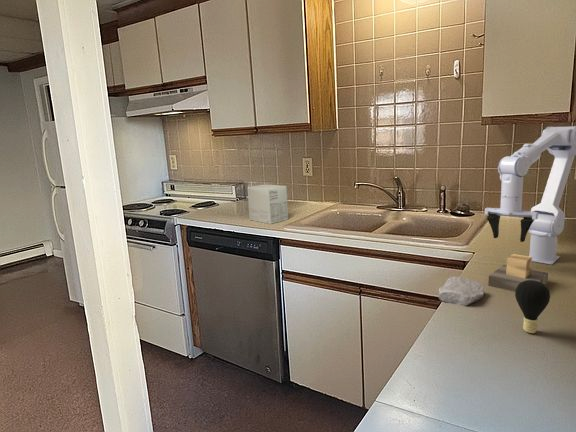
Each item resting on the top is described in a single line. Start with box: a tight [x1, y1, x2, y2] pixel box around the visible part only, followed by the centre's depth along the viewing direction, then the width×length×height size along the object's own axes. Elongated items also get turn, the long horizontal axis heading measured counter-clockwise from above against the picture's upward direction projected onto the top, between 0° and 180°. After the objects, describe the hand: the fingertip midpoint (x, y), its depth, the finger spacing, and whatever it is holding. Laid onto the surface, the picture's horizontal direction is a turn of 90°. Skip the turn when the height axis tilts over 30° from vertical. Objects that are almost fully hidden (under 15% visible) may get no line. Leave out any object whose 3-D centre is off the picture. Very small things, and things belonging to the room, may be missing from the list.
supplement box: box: [247, 183, 289, 225], centre depth 220 cm, size 17×13×18 cm
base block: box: [487, 264, 549, 292], centre depth 120 cm, size 12×12×3 cm
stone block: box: [438, 276, 485, 307], centre depth 114 cm, size 12×5×10 cm
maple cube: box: [506, 253, 533, 278], centre depth 120 cm, size 5×5×5 cm
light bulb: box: [514, 280, 551, 334], centre depth 93 cm, size 7×7×12 cm
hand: (508, 239), depth 130 cm, fingers open, 7 cm apart
